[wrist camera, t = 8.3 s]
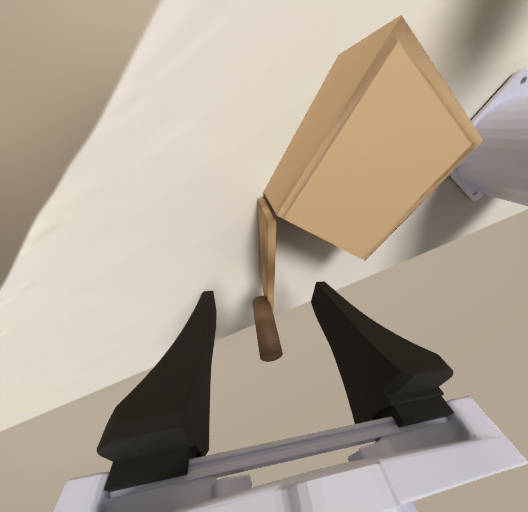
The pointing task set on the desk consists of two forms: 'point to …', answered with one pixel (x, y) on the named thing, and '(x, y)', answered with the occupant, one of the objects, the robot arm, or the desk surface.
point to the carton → (372, 143)
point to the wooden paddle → (266, 287)
